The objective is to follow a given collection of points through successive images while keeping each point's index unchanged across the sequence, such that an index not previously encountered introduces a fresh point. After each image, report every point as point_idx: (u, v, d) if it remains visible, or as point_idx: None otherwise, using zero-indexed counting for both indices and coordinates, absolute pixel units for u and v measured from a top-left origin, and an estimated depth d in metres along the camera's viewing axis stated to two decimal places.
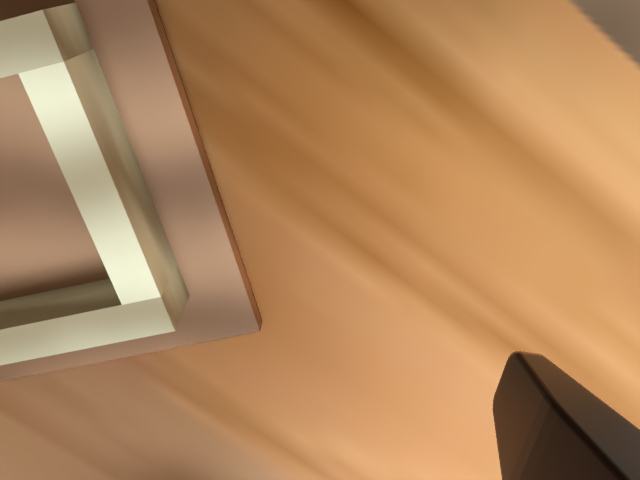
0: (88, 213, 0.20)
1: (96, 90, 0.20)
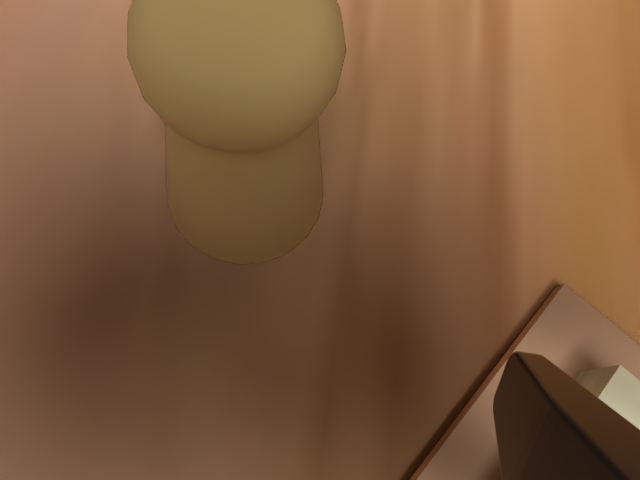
0: None
1: None
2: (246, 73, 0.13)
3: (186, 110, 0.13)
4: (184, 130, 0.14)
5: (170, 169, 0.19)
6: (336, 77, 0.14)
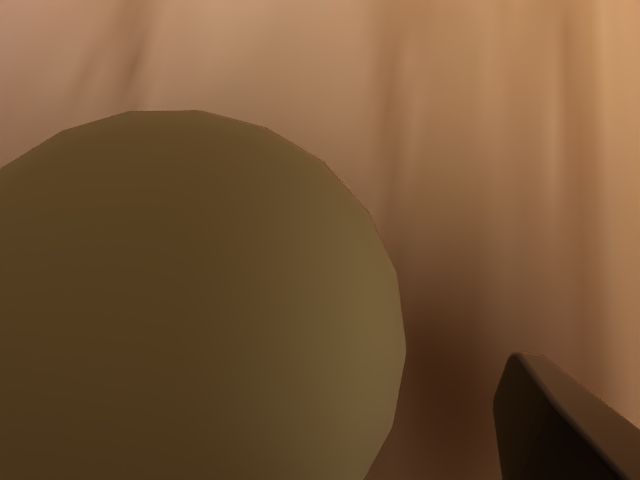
0: None
1: None
2: None
3: None
4: None
5: None
6: (387, 433, 0.06)
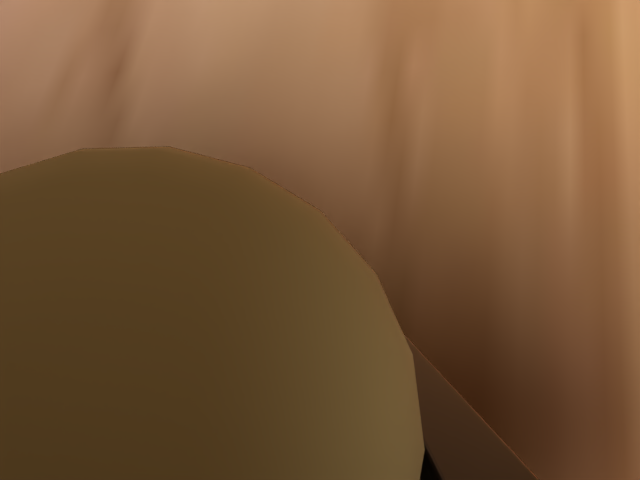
0: None
1: None
2: None
3: None
4: None
5: None
6: None
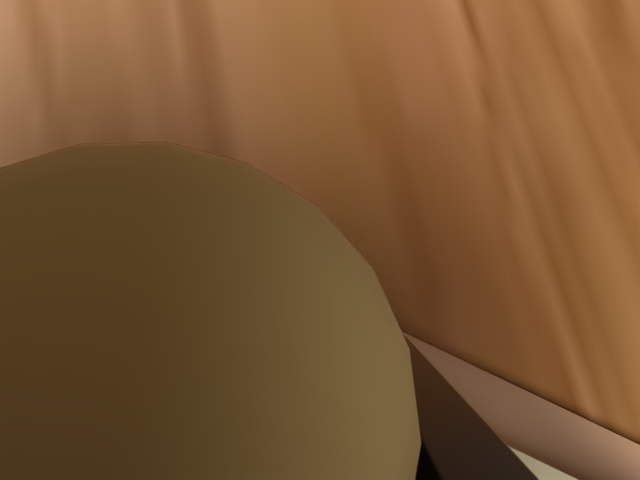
0: None
1: None
2: None
3: None
4: None
5: None
6: None
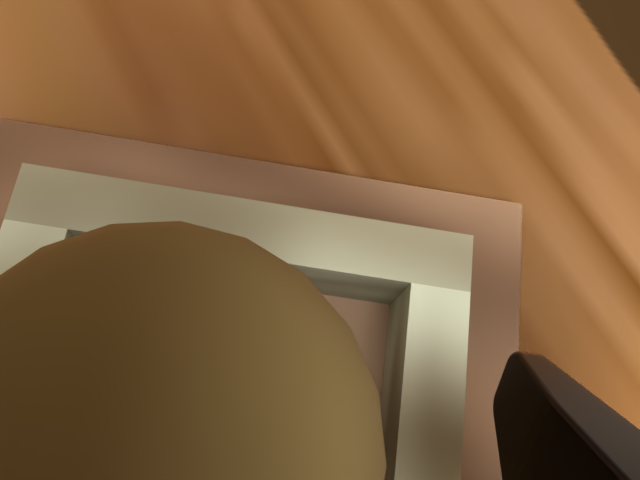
0: None
1: None
2: None
3: None
4: None
5: None
6: None
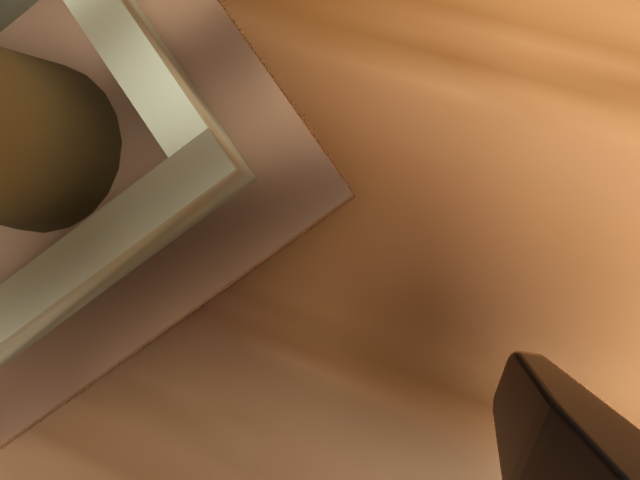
0: (110, 57, 0.18)
1: None
2: None
3: None
4: None
5: None
6: None
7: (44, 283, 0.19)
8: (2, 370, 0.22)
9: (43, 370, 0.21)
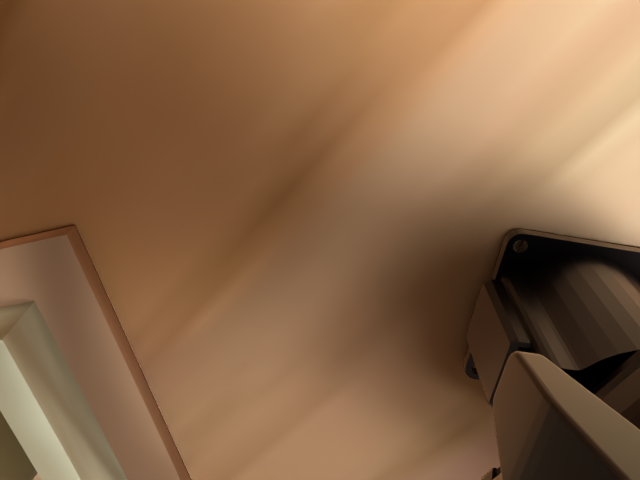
0: None
1: None
2: None
3: None
4: None
5: None
6: None
7: None
8: None
9: None
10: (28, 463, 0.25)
